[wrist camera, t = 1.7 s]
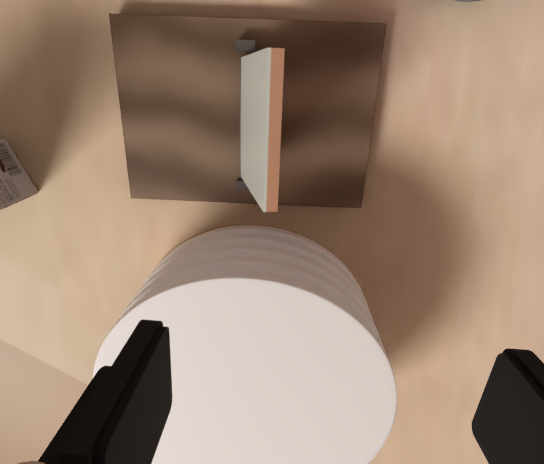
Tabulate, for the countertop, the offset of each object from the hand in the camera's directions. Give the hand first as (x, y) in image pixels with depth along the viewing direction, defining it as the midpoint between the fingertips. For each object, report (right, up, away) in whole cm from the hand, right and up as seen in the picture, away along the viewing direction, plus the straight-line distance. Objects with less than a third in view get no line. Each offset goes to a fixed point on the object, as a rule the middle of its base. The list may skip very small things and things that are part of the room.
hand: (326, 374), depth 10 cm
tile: (-2, +12, +17) cm, 21 cm away
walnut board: (-4, +15, +24) cm, 28 cm away
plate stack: (-4, -8, +34) cm, 35 cm away
